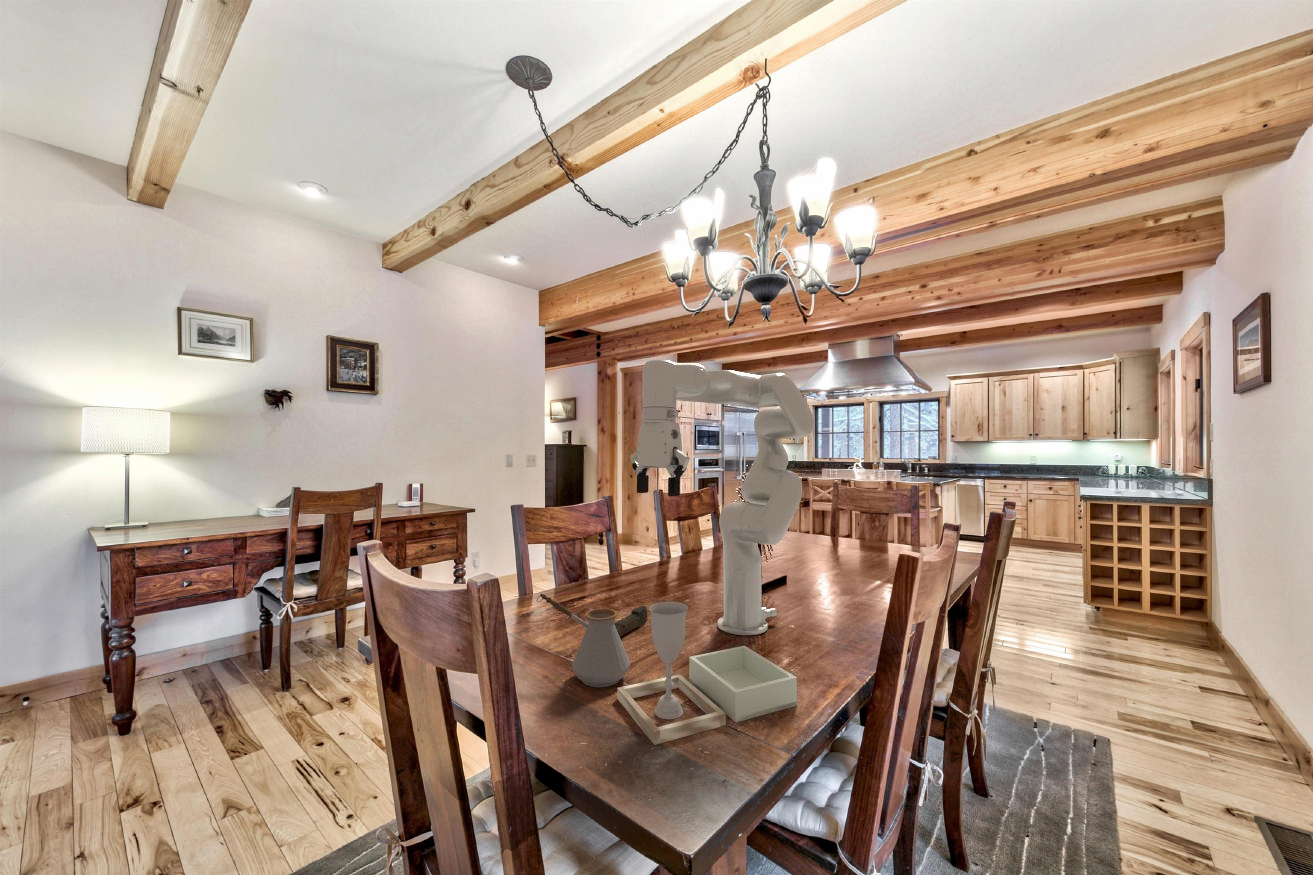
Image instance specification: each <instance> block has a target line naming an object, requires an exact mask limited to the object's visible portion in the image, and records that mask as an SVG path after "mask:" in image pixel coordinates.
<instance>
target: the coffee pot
mask: <svg viewBox="0 0 1313 875" xmlns="http://www.w3.org/2000/svg"><path fill="white" fill-rule="evenodd" d="M540 598H541V599H540ZM539 599H540V600H539ZM543 600H545V601H546V603H547V604H550V605H551V606H552V607H553V608H554V609H556V610H557V611H559V612H561V613H563V614H564V615H565V616H568V617H569V618H571V619H573V620H574V621H576V622H577V623H578V624H580V625H581V626H582V627H583V628H585V629H586V630H585V632H584V635H583V637H582V639H581V642H580V645H579V646H578V650H577V651H576V654H575V656H574V659H573V660H572V661H573V662H572V664H571V666H572V671H573V673H574V674H575V676H576V677H577V679H579V681H580V680H581V682H582V683H583V684H585V685H586V686H589V687H593V688H605V687H611V686H613V685H616V684H618V683H619V682H620V681H621V679H622V678H623V677H625V675H626V674H627V673H628V671H629V669H630V667H631V666H630V665H631V662H630V658H629V656H628V654H627V652H626V651H627V650H626V649H625V647H624V644H623V641H622V639H621V637H619V634H618V632H617V629H616V627H615V625H614V623H615V620H616V618H617V617H618V612H617V611H616V610H614V609H611V608H596V609H592V610H588V611H586V613H585V614H584V617H585V618H586V619H587V621H585V620H583V619H582V618H580V617H578V616H577V615H575V614H573V612H571V611H570V610H569V609H568V608H566V607H565V606H564V605H562V604H561V603H559V602H558V601H555V600H554V599H552V597H550V596H549V597H548V596H547V595H546V594H544V593H540V595H539V596H538V597H537V598H536V602H537V603H541V602H542V601H543Z"/></svg>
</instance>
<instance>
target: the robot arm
mask: <svg viewBox="0 0 1313 875" xmlns="http://www.w3.org/2000/svg"><path fill="white" fill-rule="evenodd" d="M642 367H643V368H642V398H641V399H642V401H641V402H642V405H641V407H642V408H641V409H642V410H641V411H642V412H641V423H640V427H639V432H638V438H637V450H636V451H635V452H633V453H632V454H630V456H629V459H630V462H631V467H632V469H633V471H634V475H635V476H636V493H637V494H647V493H649V488H650V487H649V481H650V480H649V474H648V473H649V471H650V469H652V468H654V469H666V471H667V473H668V474H669V476H670V477H668V478H667V496H668V497H680V496H681V478H683V476H684V473H685V472H686V470H687V466H688V465H689V462H690V459H691V458H690V456H689V455H687V454H685V453H684V452H683V446H682V444H683V442H682V434H681V429H680V427H681V426H680V425H679V424H680V423H679V422H677V417H678V416H679V411H678V410H677V401H679V402H693V403H705V404H713V405H715V404H716V405H718V404H719V405H727V406H728V405H729V406H737V407H744V408H753V409H754V408H755V409H756V408H757V409H758V408H759V409H760V408H765V409H762V410H760V411H758V412H757V413H756V414H755V417H754V421H753V428H754V432H755V436H756V440H757V445H758V449H757V450H758V451H757V454H756V457H755V459H754V461H753V463H752V465H751V466H750V468H749V470H748V472H747V474H746V476H745V478H744V480H743V482H742V486H741V495H742V497H743V499H744V500H745V501H746V502H745V501H744V502H743V501H735V502H731V503H728V504H727V505H725V506H724V507H723V508H722V509H721V512H720V515H719V518H718V520H719V521H718V522H719V530H720V535H721V540H722V548H723V550H722V551H723V553H722V554H723V616H722V617H720V618H718V620H717V627H718V628H719V630H721V631H723V632H725V633H728V634H732V635H737V636H754V635H755V636H756V635H761V634H763V633H765V632H766V631H768V629H769V624H768V622H767V621H766V619H768V618H769V617H770V618H771V617H772V618H773V617H777V615H778V611H777V609H776V608H775V607H774V608H772V607H771V608H768V609H767V607H765V606H764V607H762V556H761V552H760V548H759V547H758V544H760V545H767V546H773V545H777V544H779V543H780V542H781V541H782V540H783V539H784V537H785V536H786V534H787V532H788V530H789V528H790V525H791V523H792V521H793V519H794V517H795V515H796V512H797V510H798V507H799V506H800V503H801V500H802V498H803V497H802V496H803V483H802V480H801V478H800V477H799V475H798V474H797V473H796V472H794V471H792V470H788V469H787V466H788V464H789V455H788V453H787V450H786V449H785V446H784V444H783V442H782V439H783V440H784V439H785V440H786V439H790V440H791V439H792V440H793V439H804V438H807V437H809V436H810V434H812V432H813V430H814V427H815V420H814V414H813V412H812V410H811V408H810V406H809V405H808V403H807V402H806V399H805V397H804V396H803V394H802V392H801V391H800V389H799V387H798V386H797V385H796V383H795V382H794V381H793V380H792V379H791V378H790V377H789V376H788V375H787V374H785V373H783V372H776V373H770V374H769V373H767V374H758V375H757V374H753V373H752V374H751V373H746V372H741V371H736V370H730V369H729V370H728V369H721V370H710V371H708V369H706V368H705V366H703V365H701V364H699V363H696V362H695V363H694V362H673V361H671V360H667V359H652V360H651V359H650V360H648V361H646V362H645V363H644V364H643V366H642Z"/></svg>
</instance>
